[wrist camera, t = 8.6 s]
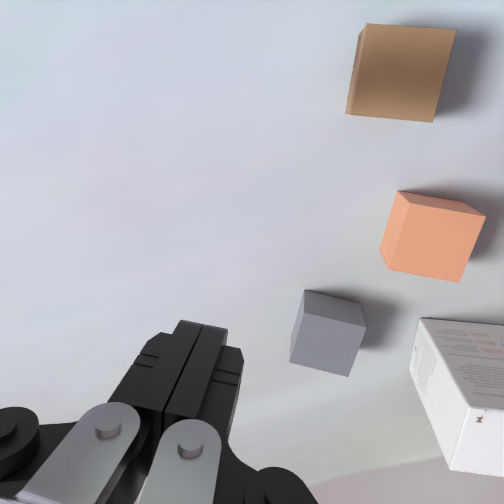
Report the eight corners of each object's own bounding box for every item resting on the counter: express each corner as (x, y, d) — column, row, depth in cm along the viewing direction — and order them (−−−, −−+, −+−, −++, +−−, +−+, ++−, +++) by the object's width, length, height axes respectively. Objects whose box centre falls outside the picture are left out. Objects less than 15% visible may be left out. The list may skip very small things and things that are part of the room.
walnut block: (358, 35, 25) (367, 23, 21) (434, 41, 25) (456, 29, 21) (345, 113, 27) (350, 114, 23) (415, 120, 27) (432, 122, 23)
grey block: (304, 289, 33) (303, 312, 29) (360, 302, 32) (366, 327, 29) (291, 334, 35) (289, 362, 31) (344, 347, 34) (348, 377, 31)
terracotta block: (396, 190, 29) (409, 203, 25) (463, 202, 28) (486, 216, 24) (378, 249, 30) (388, 269, 27) (440, 260, 30) (458, 282, 26)
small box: (406, 367, 34) (445, 472, 24) (418, 315, 32) (466, 406, 22) (499, 378, 33) (578, 491, 23) (518, 324, 31) (613, 424, 21)
